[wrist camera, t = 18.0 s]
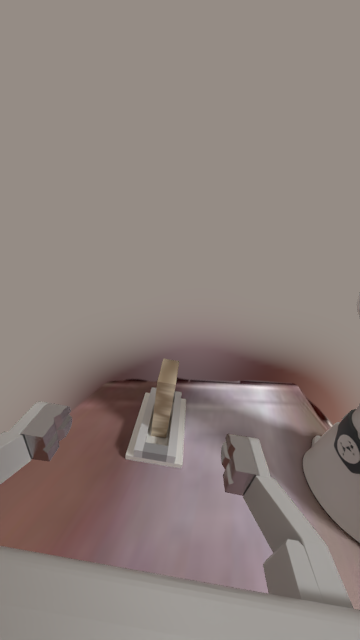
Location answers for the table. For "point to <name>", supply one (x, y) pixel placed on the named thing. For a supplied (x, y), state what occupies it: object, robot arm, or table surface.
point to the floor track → (155, 447)
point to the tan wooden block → (164, 397)
